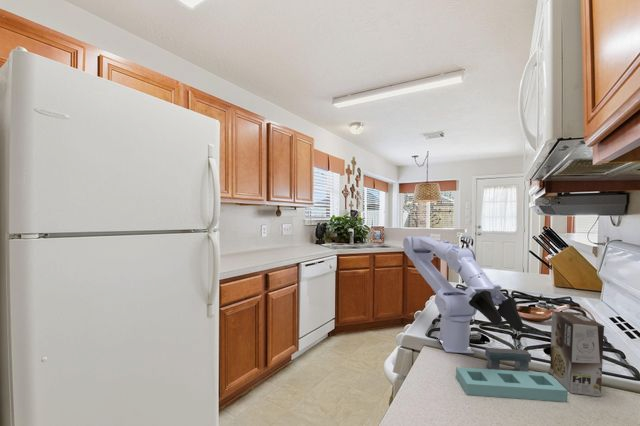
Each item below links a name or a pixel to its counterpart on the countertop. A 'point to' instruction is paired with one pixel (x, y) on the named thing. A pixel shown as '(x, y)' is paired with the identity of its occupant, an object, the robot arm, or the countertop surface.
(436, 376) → the countertop surface
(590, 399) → the countertop surface
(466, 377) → the teal slotted board
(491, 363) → the grey arch block
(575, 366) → the coffee box
